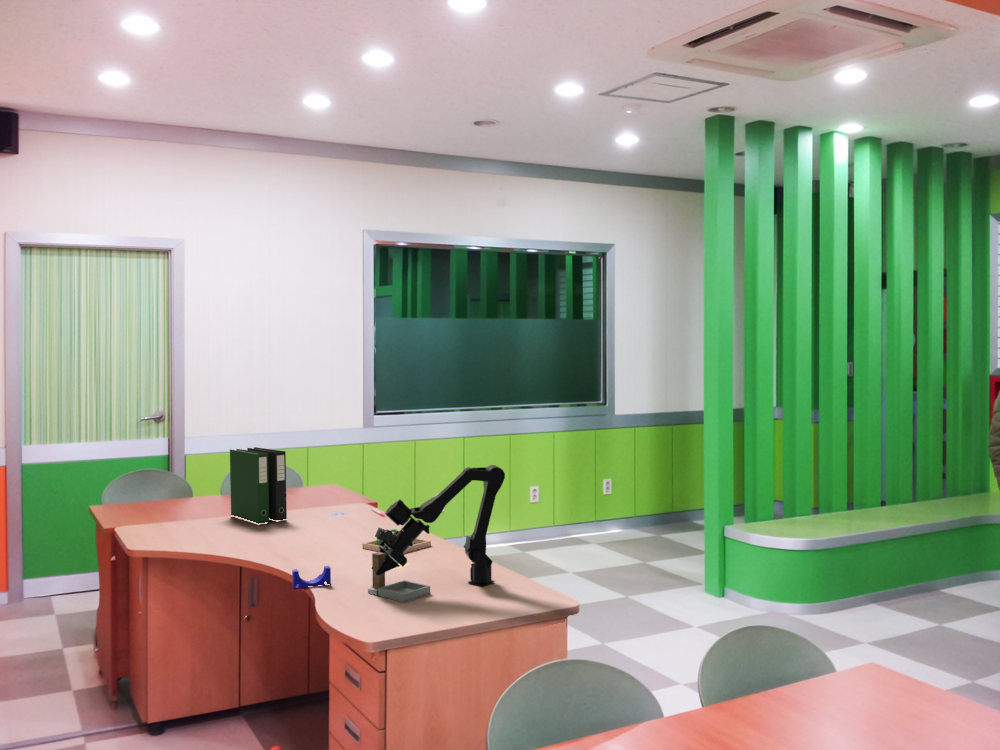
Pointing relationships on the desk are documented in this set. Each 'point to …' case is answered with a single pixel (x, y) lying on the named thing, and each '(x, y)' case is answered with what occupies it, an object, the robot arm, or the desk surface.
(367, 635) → the desk surface
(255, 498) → the binder
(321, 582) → the cable clip
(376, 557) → the wooden post on base
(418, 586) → the tray
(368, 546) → the shallow wooden tray
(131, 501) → the desk surface
